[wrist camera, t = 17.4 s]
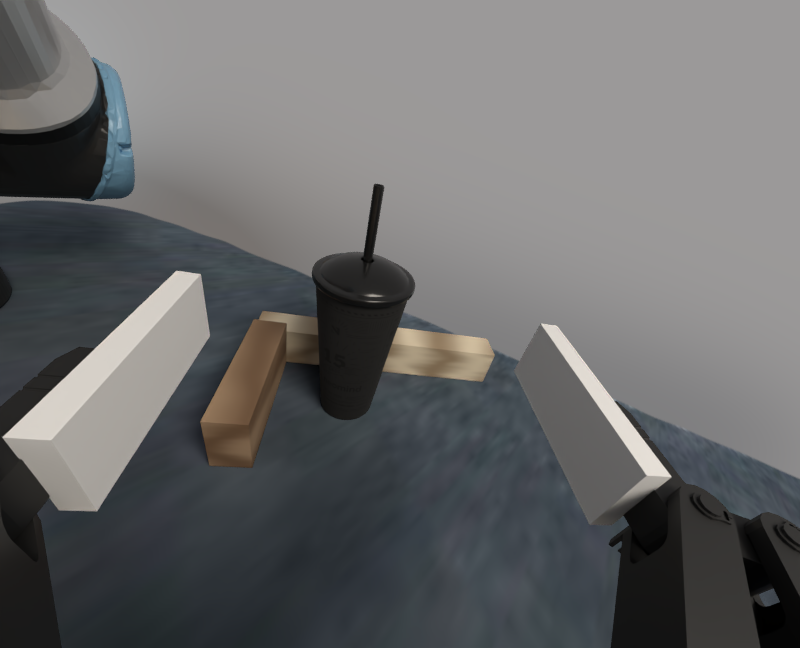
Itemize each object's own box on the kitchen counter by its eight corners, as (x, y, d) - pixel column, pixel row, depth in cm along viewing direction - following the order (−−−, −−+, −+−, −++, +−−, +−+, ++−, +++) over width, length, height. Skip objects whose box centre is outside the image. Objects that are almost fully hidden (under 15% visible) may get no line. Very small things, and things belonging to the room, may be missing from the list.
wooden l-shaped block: (209, 465, 24) (200, 421, 22) (264, 340, 37) (262, 302, 34) (520, 480, 29) (545, 445, 26) (475, 364, 41) (489, 331, 38)
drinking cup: (324, 364, 36) (343, 164, 25) (392, 385, 35) (443, 190, 24) (289, 417, 29) (294, 179, 18) (371, 444, 29) (427, 215, 18)
